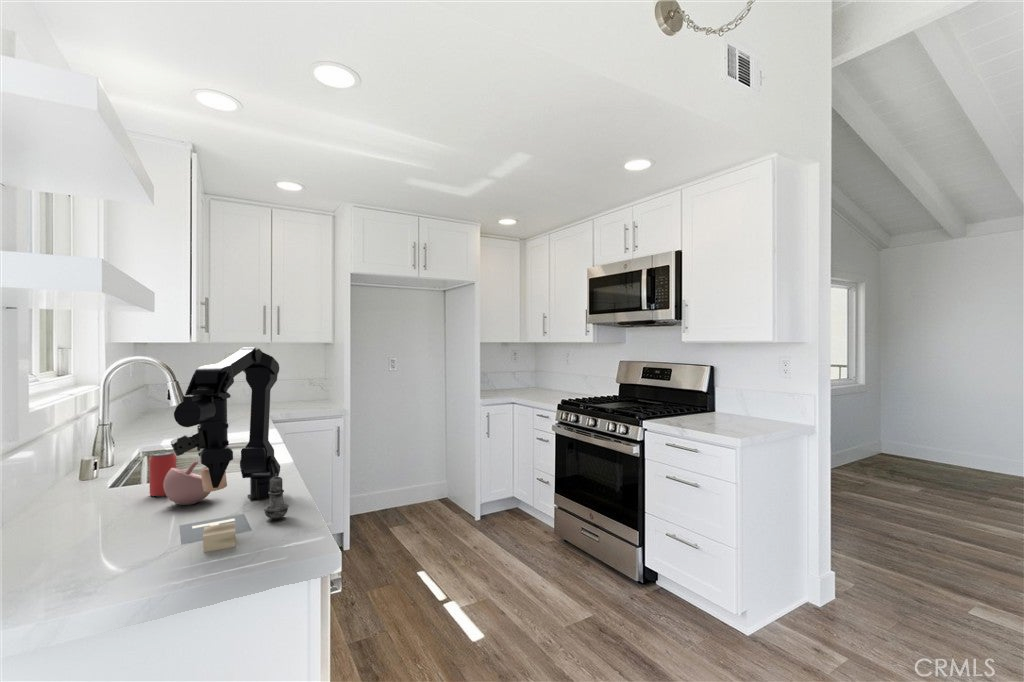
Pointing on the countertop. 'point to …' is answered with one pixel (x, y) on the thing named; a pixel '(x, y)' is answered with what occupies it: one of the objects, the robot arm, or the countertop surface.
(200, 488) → the mortar and pestle
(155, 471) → the beer can
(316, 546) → the countertop surface
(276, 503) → the salt shaker
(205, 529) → the maple block
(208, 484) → the terracotta cylinder
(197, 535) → the letter mat
